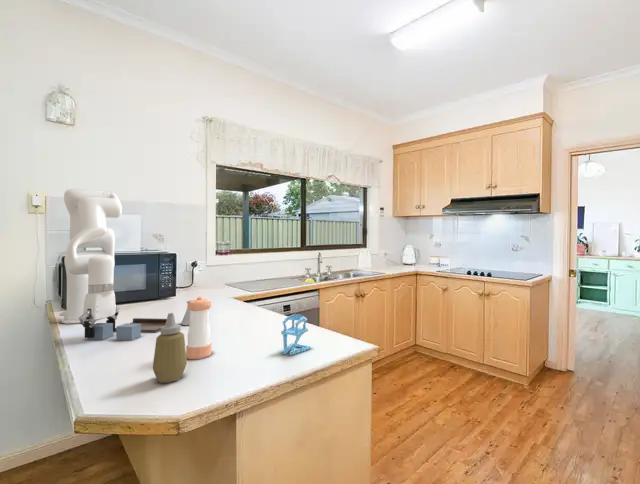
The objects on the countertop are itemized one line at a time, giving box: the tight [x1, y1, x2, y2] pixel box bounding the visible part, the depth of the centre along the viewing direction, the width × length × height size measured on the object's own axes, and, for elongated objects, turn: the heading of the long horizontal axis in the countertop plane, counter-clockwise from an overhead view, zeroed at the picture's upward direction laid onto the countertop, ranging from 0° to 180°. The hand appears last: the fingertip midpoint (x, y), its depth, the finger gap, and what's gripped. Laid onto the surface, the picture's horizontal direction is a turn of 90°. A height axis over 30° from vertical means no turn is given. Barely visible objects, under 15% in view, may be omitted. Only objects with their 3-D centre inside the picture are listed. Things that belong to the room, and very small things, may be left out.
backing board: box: [113, 317, 167, 333], centre depth 142 cm, size 18×12×2 cm, turn 88°
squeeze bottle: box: [152, 312, 188, 384], centre depth 92 cm, size 8×8×18 cm
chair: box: [280, 313, 311, 356], centre depth 116 cm, size 8×8×12 cm
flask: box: [180, 299, 193, 326], centre depth 149 cm, size 7×7×10 cm
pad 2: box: [115, 322, 142, 341], centre depth 127 cm, size 6×5×5 cm
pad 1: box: [86, 322, 114, 341], centre depth 128 cm, size 6×5×5 cm
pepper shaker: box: [185, 296, 212, 360], centre depth 110 cm, size 7×7×19 cm
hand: (100, 333), depth 128 cm, fingers open, 9 cm apart
